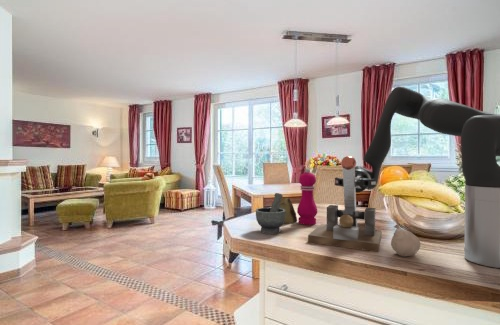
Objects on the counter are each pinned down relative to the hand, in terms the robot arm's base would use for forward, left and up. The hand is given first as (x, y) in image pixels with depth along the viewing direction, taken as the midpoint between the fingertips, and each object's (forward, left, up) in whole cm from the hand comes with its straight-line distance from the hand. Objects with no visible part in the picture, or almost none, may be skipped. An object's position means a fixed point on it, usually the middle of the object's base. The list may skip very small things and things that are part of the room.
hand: (350, 184), depth 84 cm
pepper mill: (+17, -15, -16) cm, 28 cm away
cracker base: (+1, +1, -16) cm, 16 cm away
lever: (0, -1, -14) cm, 14 cm away
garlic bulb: (-14, +9, -16) cm, 23 cm away
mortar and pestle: (+24, +2, -16) cm, 29 cm away
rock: (+26, -13, -16) cm, 33 cm away
